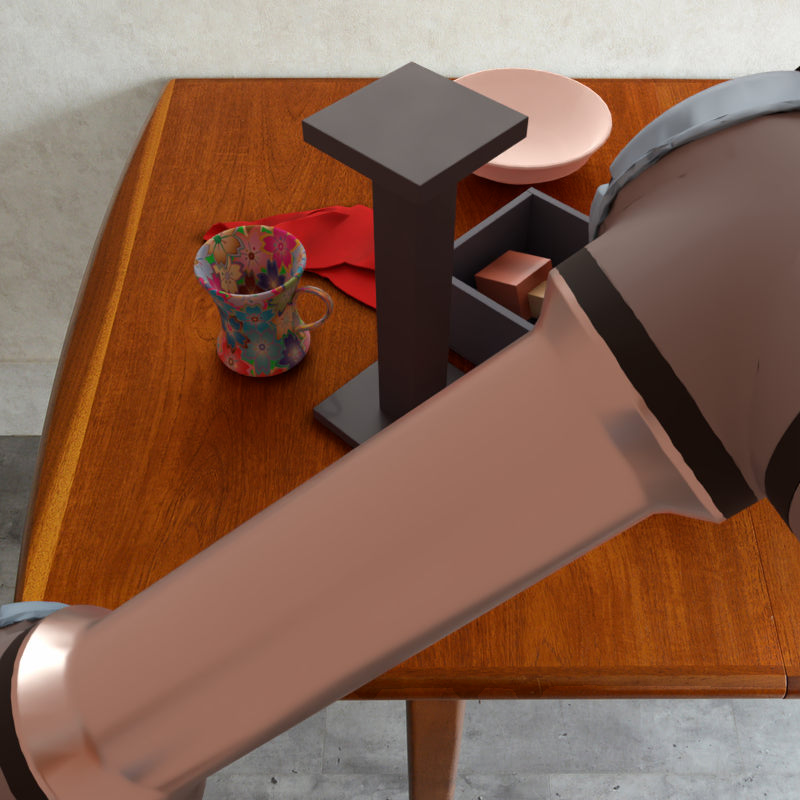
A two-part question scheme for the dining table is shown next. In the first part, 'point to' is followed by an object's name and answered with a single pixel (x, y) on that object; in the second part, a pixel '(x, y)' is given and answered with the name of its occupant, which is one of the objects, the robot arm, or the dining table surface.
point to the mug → (258, 298)
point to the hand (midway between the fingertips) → (750, 103)
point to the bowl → (543, 123)
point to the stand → (408, 227)
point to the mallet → (516, 282)
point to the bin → (504, 230)
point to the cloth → (330, 245)
